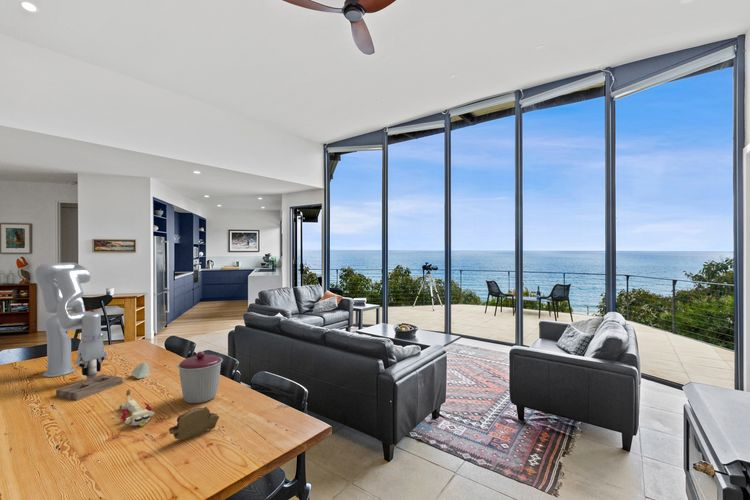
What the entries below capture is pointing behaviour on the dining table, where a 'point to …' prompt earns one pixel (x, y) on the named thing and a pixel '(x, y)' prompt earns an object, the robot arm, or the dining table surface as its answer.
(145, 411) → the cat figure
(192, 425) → the wooden carving
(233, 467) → the dining table surface
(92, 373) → the grey domed cylinder
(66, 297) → the robot arm
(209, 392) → the canister
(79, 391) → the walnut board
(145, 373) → the seashell
